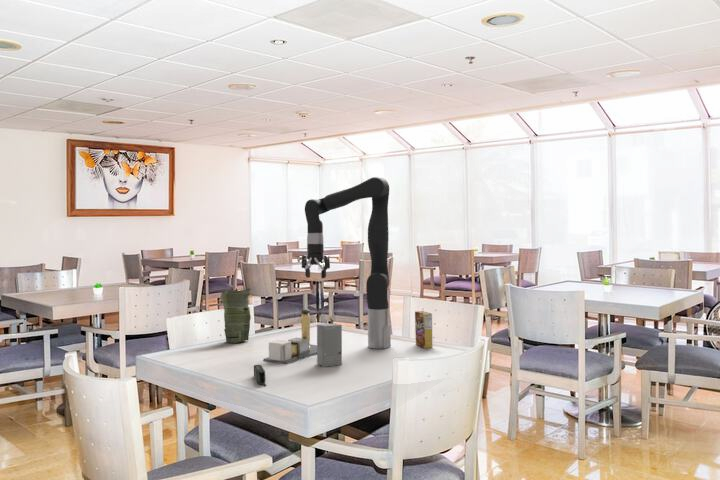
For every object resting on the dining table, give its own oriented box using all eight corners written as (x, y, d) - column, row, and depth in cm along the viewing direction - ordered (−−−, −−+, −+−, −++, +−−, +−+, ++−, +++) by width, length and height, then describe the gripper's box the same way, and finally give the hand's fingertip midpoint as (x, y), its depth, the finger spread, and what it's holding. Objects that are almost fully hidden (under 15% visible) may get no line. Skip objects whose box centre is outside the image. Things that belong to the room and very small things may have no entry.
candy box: (414, 344, 272) (414, 311, 272) (423, 343, 274) (422, 310, 273) (424, 348, 264) (424, 313, 264) (432, 347, 266) (432, 313, 265)
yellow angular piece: (304, 348, 261) (304, 309, 260) (312, 349, 259) (311, 309, 258) (275, 357, 244) (275, 315, 243) (283, 358, 242) (283, 316, 241)
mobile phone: (252, 363, 218) (259, 372, 204) (260, 363, 219) (267, 371, 205) (252, 377, 218) (259, 387, 204) (260, 376, 219) (268, 386, 205)
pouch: (219, 342, 281) (218, 289, 280) (234, 338, 292) (233, 286, 291) (239, 344, 276) (239, 290, 276) (254, 339, 287) (253, 287, 287)
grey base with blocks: (310, 346, 271) (309, 331, 271) (332, 348, 265) (332, 334, 265) (263, 360, 243) (263, 344, 243) (287, 364, 237) (287, 347, 237)
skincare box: (323, 367, 231) (322, 326, 230) (316, 363, 237) (315, 323, 237) (343, 365, 235) (342, 324, 234) (335, 361, 241) (335, 321, 241)
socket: (277, 356, 247) (277, 339, 247) (291, 358, 243) (291, 341, 243) (269, 359, 242) (268, 342, 242) (282, 361, 239) (282, 344, 239)
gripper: (297, 243, 278) (298, 278, 279) (323, 243, 271) (324, 279, 271) (307, 242, 285) (307, 276, 285) (332, 242, 277) (333, 277, 278)
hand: (315, 277), depth 278 cm, fingers open, 8 cm apart
